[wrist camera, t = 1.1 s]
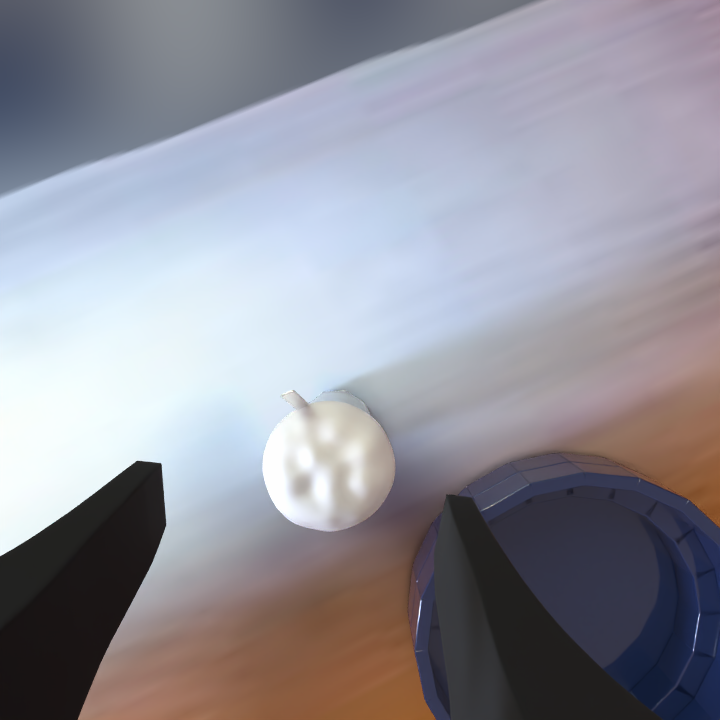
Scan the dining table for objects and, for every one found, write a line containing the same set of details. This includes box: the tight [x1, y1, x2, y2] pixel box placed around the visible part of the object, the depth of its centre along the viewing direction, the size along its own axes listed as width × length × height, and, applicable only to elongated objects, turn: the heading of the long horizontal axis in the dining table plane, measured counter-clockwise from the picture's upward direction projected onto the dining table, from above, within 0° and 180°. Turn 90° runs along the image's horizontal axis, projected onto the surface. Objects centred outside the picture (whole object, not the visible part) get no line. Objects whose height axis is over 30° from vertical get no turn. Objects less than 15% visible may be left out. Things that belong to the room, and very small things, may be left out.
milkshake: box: [263, 390, 395, 532], centre depth 22 cm, size 5×5×10 cm
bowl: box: [408, 453, 720, 720], centre depth 26 cm, size 15×15×4 cm
